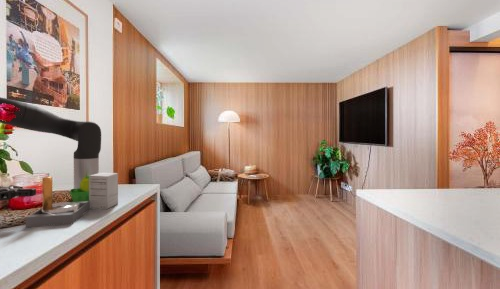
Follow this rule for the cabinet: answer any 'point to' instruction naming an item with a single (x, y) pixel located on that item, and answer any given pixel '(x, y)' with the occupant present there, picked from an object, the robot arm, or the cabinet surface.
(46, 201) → the dial
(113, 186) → the supplement box
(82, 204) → the housing
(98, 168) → the robot arm
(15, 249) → the cabinet surface
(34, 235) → the cabinet surface
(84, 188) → the fruit basket
